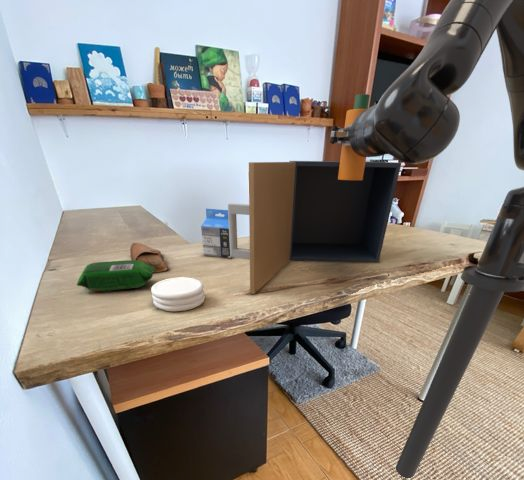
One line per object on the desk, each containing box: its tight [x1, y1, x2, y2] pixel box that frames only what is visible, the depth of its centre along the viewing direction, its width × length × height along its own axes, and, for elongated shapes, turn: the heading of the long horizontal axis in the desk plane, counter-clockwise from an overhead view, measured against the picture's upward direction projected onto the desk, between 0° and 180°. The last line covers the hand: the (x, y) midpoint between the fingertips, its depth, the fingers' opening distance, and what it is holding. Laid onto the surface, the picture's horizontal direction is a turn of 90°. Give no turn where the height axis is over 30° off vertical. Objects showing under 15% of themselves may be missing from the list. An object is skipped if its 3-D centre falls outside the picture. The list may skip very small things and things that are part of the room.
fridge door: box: [227, 161, 296, 295], centre depth 67 cm, size 6×26×24 cm, turn 159°
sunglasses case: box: [129, 242, 169, 274], centre depth 79 cm, size 18×7×7 cm, turn 24°
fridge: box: [288, 160, 402, 263], centre depth 85 cm, size 18×26×24 cm
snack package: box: [76, 259, 158, 292], centre depth 64 cm, size 7×16×5 cm, turn 104°
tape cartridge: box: [200, 208, 233, 259], centre depth 84 cm, size 9×4×12 cm, turn 72°
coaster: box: [150, 276, 206, 312], centre depth 58 cm, size 10×10×4 cm
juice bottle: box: [338, 93, 371, 180], centre depth 64 cm, size 6×6×15 cm
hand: (353, 138), depth 66 cm, fingers closed on juice bottle, 5 cm apart
